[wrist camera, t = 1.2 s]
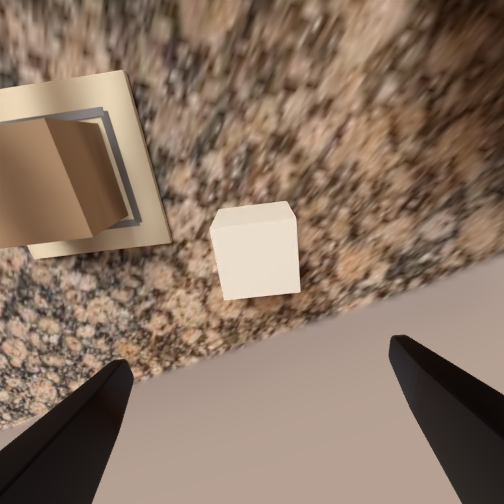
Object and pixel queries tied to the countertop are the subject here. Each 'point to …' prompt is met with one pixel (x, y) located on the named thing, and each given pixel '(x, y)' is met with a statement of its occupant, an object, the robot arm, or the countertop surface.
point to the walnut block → (55, 182)
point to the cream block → (256, 250)
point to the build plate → (118, 147)
